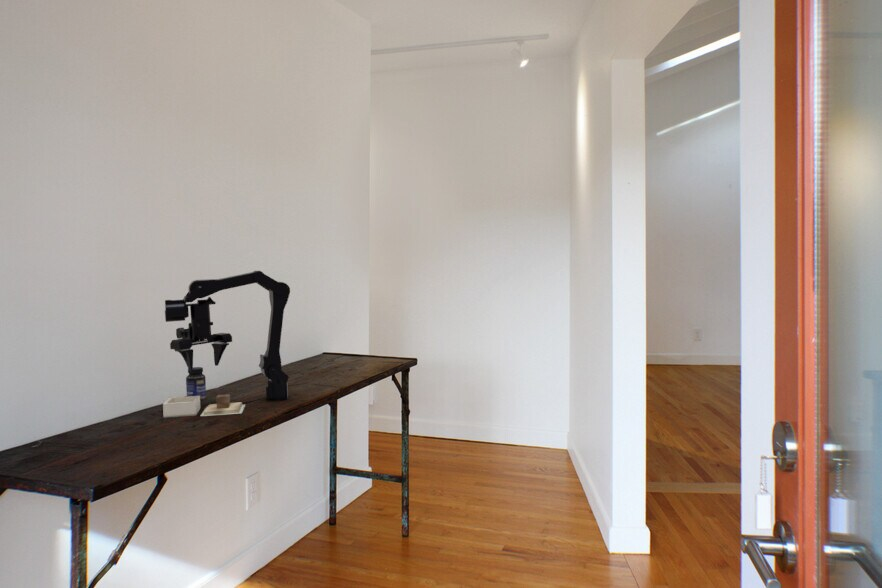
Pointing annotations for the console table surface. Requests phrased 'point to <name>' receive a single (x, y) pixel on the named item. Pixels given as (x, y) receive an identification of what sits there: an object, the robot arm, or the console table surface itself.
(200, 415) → the mat
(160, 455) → the console table surface
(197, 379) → the pill bottle
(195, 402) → the beige boxy piece
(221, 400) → the lid
